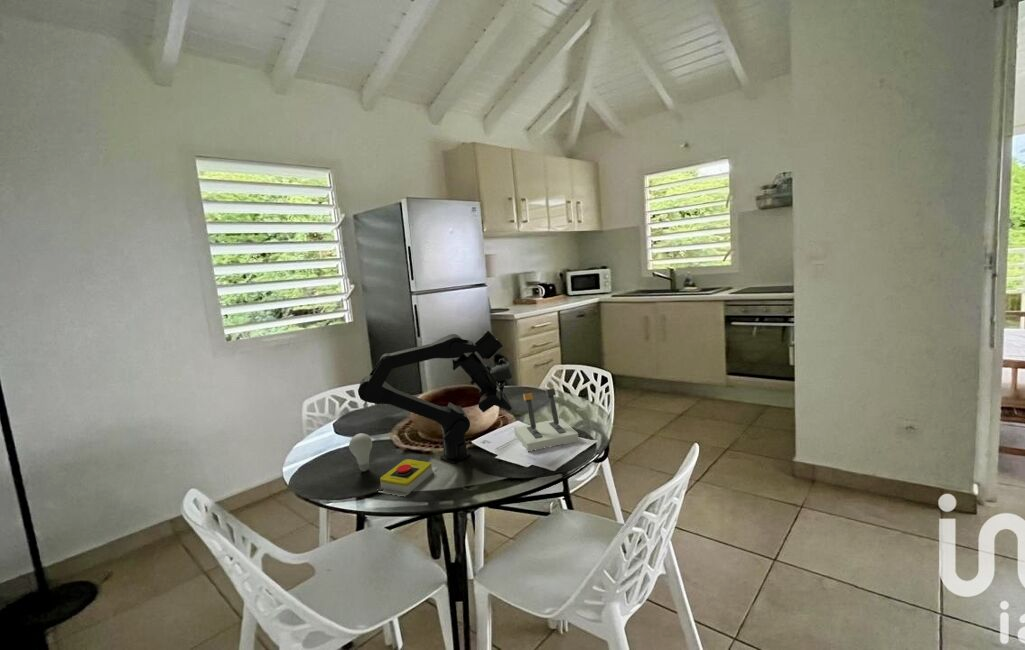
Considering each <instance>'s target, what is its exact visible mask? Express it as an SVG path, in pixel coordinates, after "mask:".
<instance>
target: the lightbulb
mask: <svg viewBox="0 0 1025 650" xmlns="http://www.w3.org/2000/svg"><path fill="white" fill-rule="evenodd" d="M348 444H349V445H348V447H349V448H348V449H349V450H350V452H351V453H352V455H353V456H354V457H355V459H356V462H357V464H358V468H359V470H360V471H361V472H367V471H368V470H369V468H370V453H371V450H372V448H373V441H372V438H371V437H370V436H369V435H368V434H367V433H361V432H360V433H357V434H355V435H354V436H352V437H351V439H350V440H349V443H348Z"/></svg>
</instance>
